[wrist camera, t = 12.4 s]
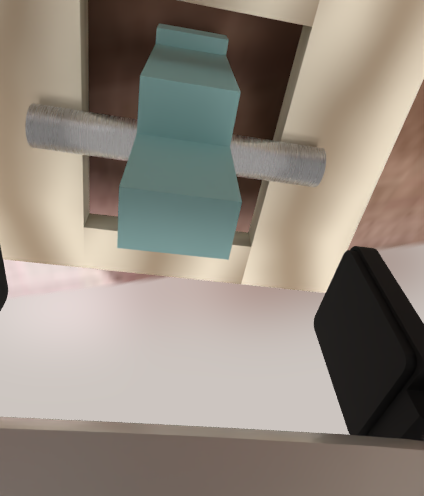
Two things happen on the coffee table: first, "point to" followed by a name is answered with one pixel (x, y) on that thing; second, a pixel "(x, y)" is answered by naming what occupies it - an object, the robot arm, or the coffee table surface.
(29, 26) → the cream frame
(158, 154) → the teal stepped block
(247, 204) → the coffee table surface
